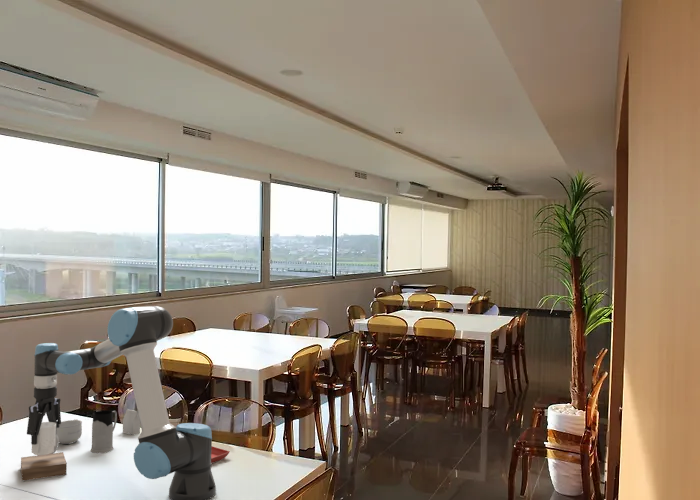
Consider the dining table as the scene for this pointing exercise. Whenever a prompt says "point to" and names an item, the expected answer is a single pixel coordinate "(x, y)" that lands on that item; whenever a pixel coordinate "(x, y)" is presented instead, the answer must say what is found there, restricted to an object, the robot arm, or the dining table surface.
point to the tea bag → (131, 422)
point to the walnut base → (43, 466)
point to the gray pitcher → (103, 431)
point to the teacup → (69, 431)
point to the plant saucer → (218, 454)
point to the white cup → (47, 438)
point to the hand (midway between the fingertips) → (43, 449)
